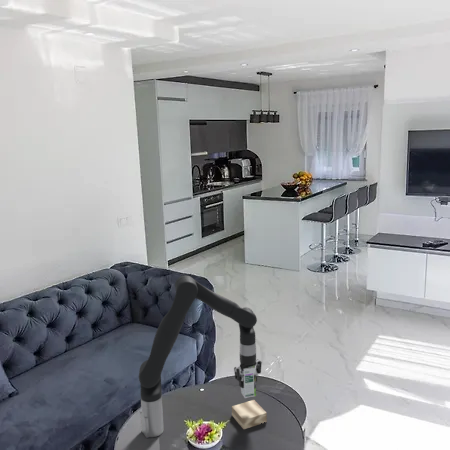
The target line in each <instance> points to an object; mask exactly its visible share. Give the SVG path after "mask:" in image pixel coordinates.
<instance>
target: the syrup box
mask: <svg viewBox="0 0 450 450" xmlns="http://www.w3.org/2000/svg"><path fill="white" fill-rule="evenodd" d="M240 371H241V369H240ZM242 373H243V374H244V380H243V381H244V388H241V387H240V393H241V395H242V396H243V398H244V399H247V398H251V397H253V398H254V397H257V383H256V366H254V365H253V367H252V366H249V368H248V369H247V368H244V369H243V371H242ZM241 378H242V377H241Z"/></svg>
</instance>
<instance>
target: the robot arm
mask: <svg viewBox="0 0 450 450" xmlns="http://www.w3.org/2000/svg"><path fill="white" fill-rule="evenodd" d="M174 288H175V294H174V295H175V296H174V298H173V301H172V304H171V307H170V309H169V310H168V311H167V313H166V314H165V315H164V316H163V317H162V319H161V321H160V323H159V325H158V327H157V330H156V332H155V334H154V338H153V342H152V345H151V349H150V354H149V356H148V358H147V360H145V361H143V362H142V363H141V365H140V366H139V370H138V371H139V372H138V380H139V384H140V387H139V388H140V393H139V394H140V406H141V411H140V412H139V415H140V425H141V426H140V428H141V431H140V432H142V434H143V435H144V436H145V438H156V437H158V436H161V435H162V434H163V432H164V413H163V398H162V397H163V396H162V395H163V393H162V372H163V369H164V366H165V364H166V361H167V359H168V357H169V355H170V354H171V352H172V349H173V348H174V345H175V343H176V340H177V339H178V337H179V334H180V332H181V329H182V326H183V324H184V321H185V319H186V316H187V313H188V312H189V310H190V308H191V307H192V305H193V303H194V301H195V299H197V300H198V301H200V302H203V303H204V304H206V306H208V307H210V308H211V309H212V310H213V311H215V312H217V313H219V314H221V315H223V316H225V317H227V318H230V319H231V320H233V321H234V322H236V323H237V324H238V327H239V362H240V363H239V366H238V367H237V366H235V367H234V368H233V372H234V378H235V380H236V381H238V386H239V387H240V389H241V388H244V381H243V380H244V374H243V373H242V371H243V369H244V368H247V369H248V368H249V366H252V367H253V365H254V366H255V368H256V384H257V382H258V375H259V374H261V373H262V363H263V362H262V361H261V360H259V359H257V343H256V331H255V329H254V327H255V326H256V324H257V322H258V318H257V316H256V314H255V313H254V311H253V310H252V309H251V308H250V307H247V306H245V307H241V306H240V305H239V304H237V303H236V302H235V301H233V300H230V299H228V298H226V297H224V296H222V295H220V294H218V293H217V292H214V291H213V290H211V289H209V288H207V287H206V286H204V285H203V284H201V283H199V282H198V281H197V280H196V279H194V278H193V277H192V276H190V275H181V276H180V277H178V278H177V279H176V280H175V284H174ZM240 369H241V371H240ZM241 377H242V378H241Z"/></svg>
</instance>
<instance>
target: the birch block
mask: <svg viewBox="0 0 450 450" xmlns="http://www.w3.org/2000/svg"><path fill="white" fill-rule="evenodd" d="M267 415H268V413H267V411H265V409H264V408H263V407H262V406H261V405H260V404H259V403H258V402H257V401H256V400H255V399H251V400H249V401H245V402H242V403H238V404H234V405H232V406H231V416H232V417H233V418H234V420H235V421H236V422H237V423H238V425H239V426H240V427H241V428H242V429H243V430H246V429H249V428H253V427H256V426H259V425H261V423H262V424H264V422H265V423H267V422H268V421H267V419H268V418H267Z"/></svg>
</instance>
